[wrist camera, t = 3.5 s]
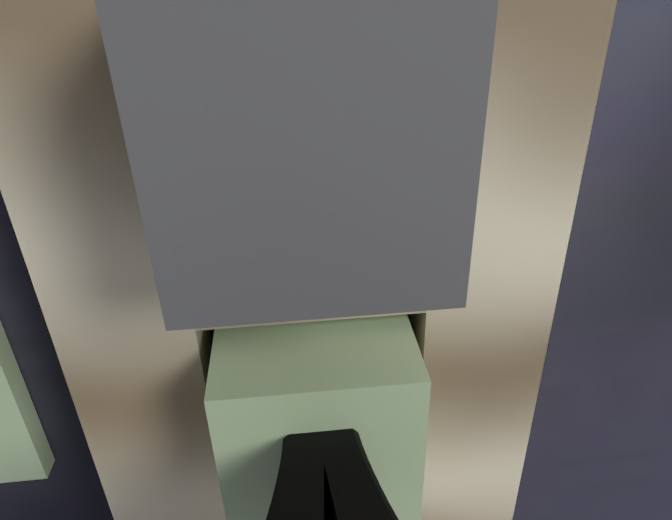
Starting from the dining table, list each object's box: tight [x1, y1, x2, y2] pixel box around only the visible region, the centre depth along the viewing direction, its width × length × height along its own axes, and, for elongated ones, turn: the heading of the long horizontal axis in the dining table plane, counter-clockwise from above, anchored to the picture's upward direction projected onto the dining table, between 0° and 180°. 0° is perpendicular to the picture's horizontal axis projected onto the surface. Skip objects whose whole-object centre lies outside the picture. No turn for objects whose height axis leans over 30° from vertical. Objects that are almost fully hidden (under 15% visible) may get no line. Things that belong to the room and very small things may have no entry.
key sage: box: [204, 314, 431, 520], centre depth 12 cm, size 4×4×3 cm
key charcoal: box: [94, 0, 499, 331], centre depth 8 cm, size 4×4×3 cm
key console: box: [0, 0, 617, 520], centre depth 13 cm, size 20×10×2 cm, turn 1°
